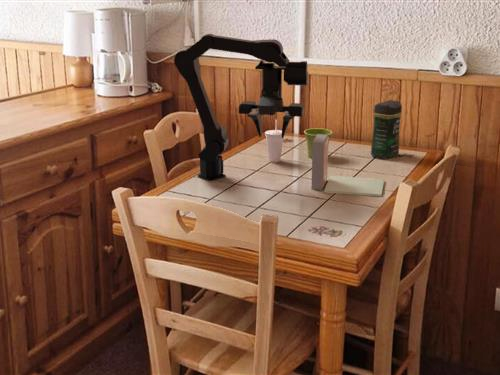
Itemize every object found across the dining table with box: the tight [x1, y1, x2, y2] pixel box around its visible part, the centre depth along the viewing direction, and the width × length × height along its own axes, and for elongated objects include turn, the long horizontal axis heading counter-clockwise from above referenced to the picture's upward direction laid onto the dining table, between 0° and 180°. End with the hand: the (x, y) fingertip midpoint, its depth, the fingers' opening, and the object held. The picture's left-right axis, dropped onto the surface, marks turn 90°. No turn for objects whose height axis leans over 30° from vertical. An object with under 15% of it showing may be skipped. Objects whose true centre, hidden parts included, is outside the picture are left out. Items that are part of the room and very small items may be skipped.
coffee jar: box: [370, 99, 403, 160], centre depth 226 cm, size 10×8×19 cm
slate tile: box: [311, 134, 330, 190], centre depth 198 cm, size 3×9×14 cm, turn 166°
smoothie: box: [264, 118, 284, 163], centre depth 221 cm, size 6×6×14 cm
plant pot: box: [303, 127, 333, 159], centre depth 226 cm, size 9×9×9 cm
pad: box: [323, 175, 385, 197], centre depth 198 cm, size 16×14×1 cm
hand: (271, 137), depth 201 cm, fingers open, 6 cm apart
